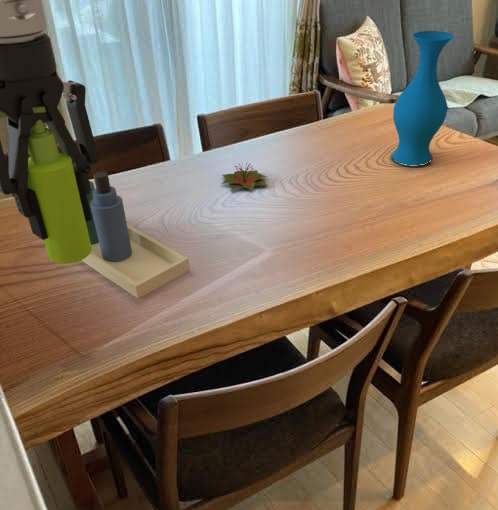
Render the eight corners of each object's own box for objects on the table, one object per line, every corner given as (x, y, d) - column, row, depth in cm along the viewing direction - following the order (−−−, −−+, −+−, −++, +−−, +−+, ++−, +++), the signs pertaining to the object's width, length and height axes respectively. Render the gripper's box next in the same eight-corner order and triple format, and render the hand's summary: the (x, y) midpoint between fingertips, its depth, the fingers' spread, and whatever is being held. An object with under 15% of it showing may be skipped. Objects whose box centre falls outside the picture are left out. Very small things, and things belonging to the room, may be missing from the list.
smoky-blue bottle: (96, 254, 102) (77, 175, 92) (120, 243, 105) (105, 165, 95) (113, 265, 99) (95, 184, 89) (138, 253, 102) (123, 173, 92)
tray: (54, 244, 107) (50, 230, 105) (103, 222, 113) (100, 209, 111) (138, 301, 91) (135, 286, 90) (190, 272, 98) (188, 258, 96)
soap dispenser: (40, 246, 76) (-4, 100, 63) (90, 238, 78) (57, 94, 65) (40, 268, 72) (-7, 116, 59) (93, 259, 73) (59, 109, 60)
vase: (378, 163, 133) (395, 38, 115) (397, 146, 141) (416, 27, 123) (426, 174, 128) (451, 44, 110) (443, 155, 136) (469, 32, 118)
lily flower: (261, 169, 132) (261, 150, 129) (277, 189, 123) (277, 170, 120) (213, 176, 129) (212, 157, 126) (226, 197, 120) (225, 178, 118)
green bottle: (71, 238, 107) (50, 161, 97) (95, 227, 110) (77, 151, 100) (86, 248, 104) (66, 169, 94) (110, 237, 107) (94, 159, 97)
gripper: (-63, 58, 50) (9, 265, 65) (107, 25, 61) (136, 210, 75) (-93, 45, 54) (-18, 243, 69) (71, 17, 65) (106, 194, 80)
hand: (62, 225), depth 72 cm, fingers closed on soap dispenser, 6 cm apart
